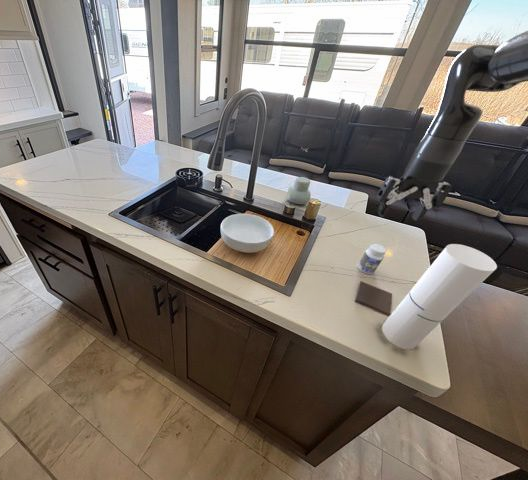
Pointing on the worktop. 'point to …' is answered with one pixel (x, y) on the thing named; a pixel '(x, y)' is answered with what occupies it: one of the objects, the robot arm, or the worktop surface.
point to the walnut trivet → (374, 298)
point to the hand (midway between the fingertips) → (397, 217)
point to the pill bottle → (372, 259)
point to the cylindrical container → (437, 294)
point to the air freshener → (299, 191)
